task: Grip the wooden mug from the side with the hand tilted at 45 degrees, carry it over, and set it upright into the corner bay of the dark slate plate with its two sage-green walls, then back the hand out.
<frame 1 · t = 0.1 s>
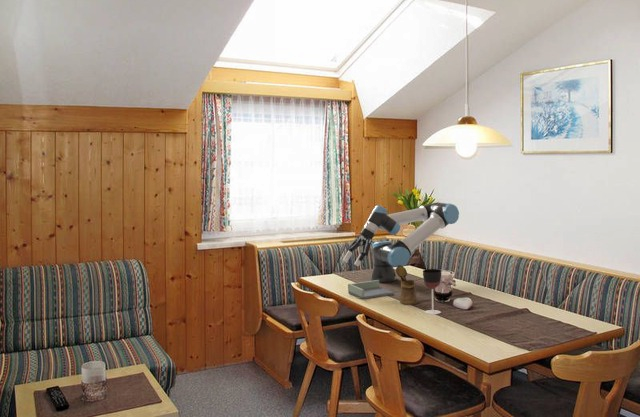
hand: (350, 263, 334), 15 cm above the table, tool tilted 35°, fingers open, 13 cm apart
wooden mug: (406, 301, 308), on the table
corner bay: (370, 293, 327), on the table
wineglass: (432, 312, 287), on the table
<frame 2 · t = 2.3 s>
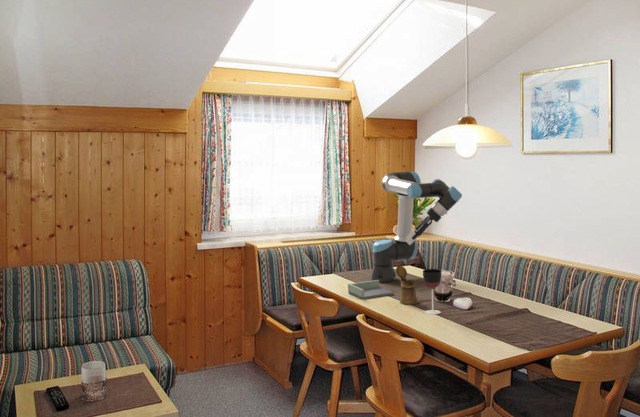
hand: (407, 241, 313), 30 cm above the table, tool tilted 45°, fingers open, 13 cm apart
nothing on the table moved.
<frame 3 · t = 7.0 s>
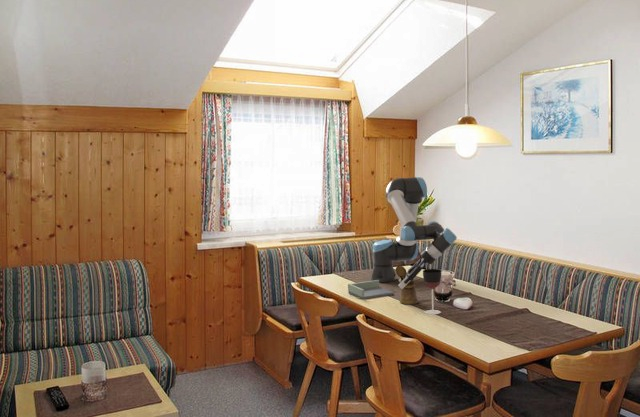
hand: (400, 284, 307), 9 cm above the table, tool tilted 45°, fingers closed on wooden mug, 10 cm apart
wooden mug: (406, 301, 308), on the table, touching gripper
everything else where it was.
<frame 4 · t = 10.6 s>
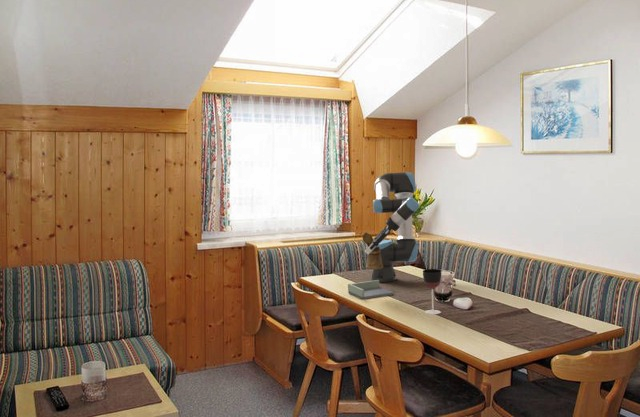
hand: (366, 251, 323), 24 cm above the table, tool tilted 45°, fingers closed on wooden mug, 10 cm apart
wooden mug: (372, 267, 324), point 15 cm above the table, touching gripper
everything else where it was.
when the fingers open (11 cm above the table, at t = 14.4 s): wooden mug drops 1 cm, resting on corner bay.
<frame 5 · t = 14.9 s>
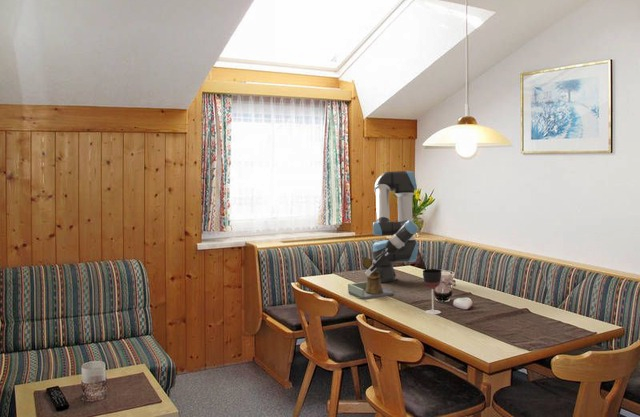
hand: (367, 272, 325), 12 cm above the table, tool tilted 45°, fingers open, 13 cm apart
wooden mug: (372, 291, 327), point 1 cm above the table, touching corner bay
everything else where it was.
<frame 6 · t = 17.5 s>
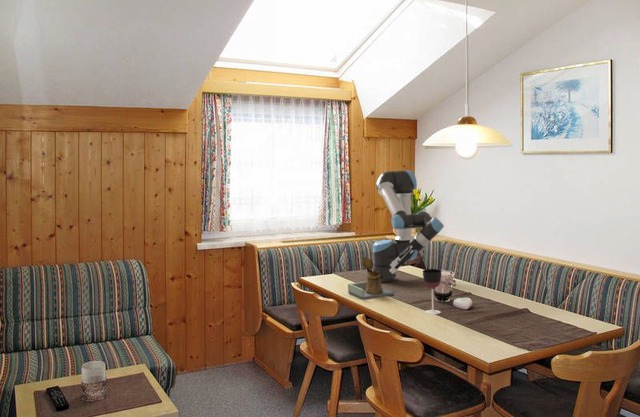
hand: (391, 269, 323), 13 cm above the table, tool tilted 45°, fingers open, 13 cm apart
nothing on the table moved.
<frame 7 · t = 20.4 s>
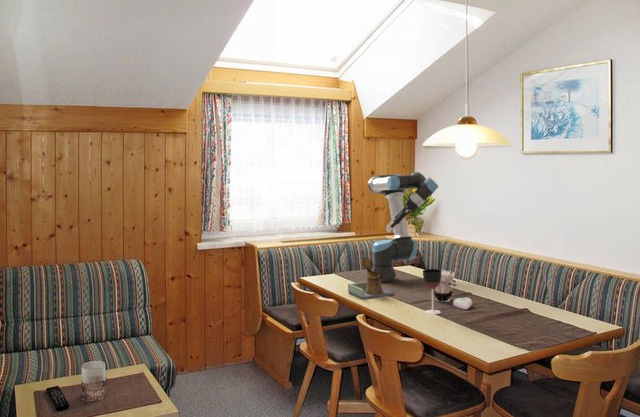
hand: (387, 229, 332), 34 cm above the table, tool tilted 45°, fingers open, 13 cm apart
nothing on the table moved.
at the end: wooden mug inside the target area on the corner bay (0.6 cm from its centre), point 1.0 cm above the corner bay's base; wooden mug tilted 0°; the gripper is holding nothing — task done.
